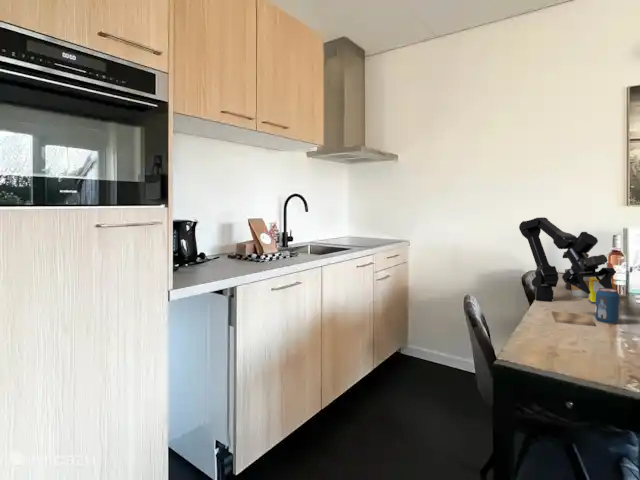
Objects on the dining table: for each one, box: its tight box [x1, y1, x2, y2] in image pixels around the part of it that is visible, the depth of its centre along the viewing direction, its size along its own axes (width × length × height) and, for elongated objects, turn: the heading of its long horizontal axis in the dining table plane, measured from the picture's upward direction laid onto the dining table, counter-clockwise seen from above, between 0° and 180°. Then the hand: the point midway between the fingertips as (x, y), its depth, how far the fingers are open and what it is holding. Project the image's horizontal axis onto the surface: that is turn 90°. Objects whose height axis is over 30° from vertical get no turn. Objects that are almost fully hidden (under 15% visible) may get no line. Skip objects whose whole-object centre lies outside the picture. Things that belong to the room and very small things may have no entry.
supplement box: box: [588, 277, 604, 305], centre depth 166 cm, size 6×6×11 cm
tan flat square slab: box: [551, 311, 595, 327], centre depth 142 cm, size 12×12×1 cm
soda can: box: [594, 288, 620, 325], centre depth 139 cm, size 7×7×12 cm
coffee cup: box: [570, 267, 589, 299], centre depth 178 cm, size 8×8×15 cm
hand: (600, 292), depth 141 cm, fingers open, 9 cm apart
